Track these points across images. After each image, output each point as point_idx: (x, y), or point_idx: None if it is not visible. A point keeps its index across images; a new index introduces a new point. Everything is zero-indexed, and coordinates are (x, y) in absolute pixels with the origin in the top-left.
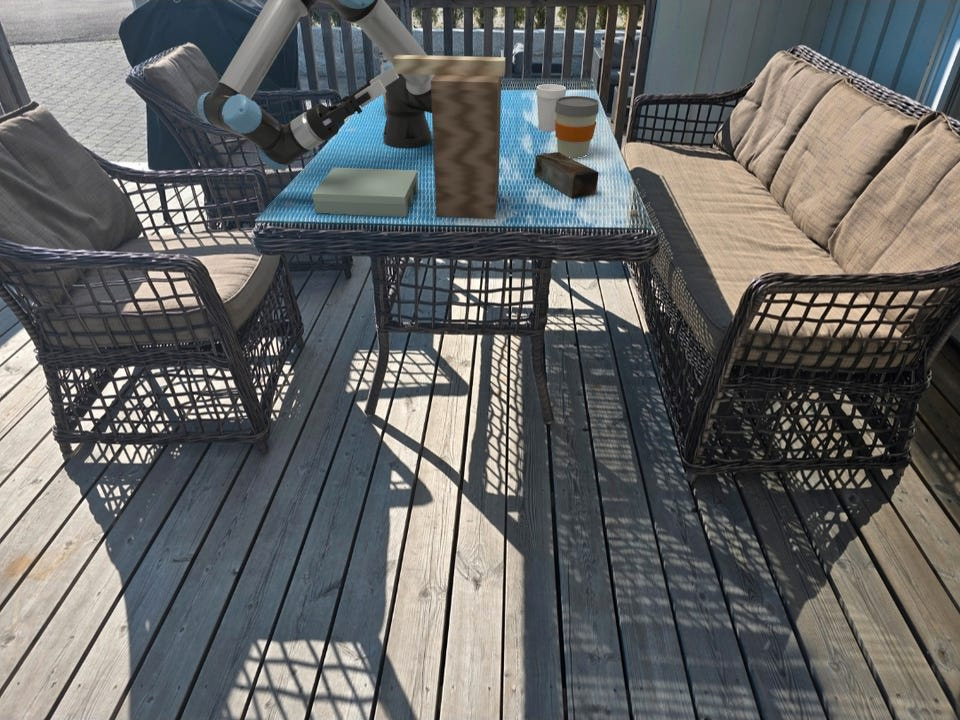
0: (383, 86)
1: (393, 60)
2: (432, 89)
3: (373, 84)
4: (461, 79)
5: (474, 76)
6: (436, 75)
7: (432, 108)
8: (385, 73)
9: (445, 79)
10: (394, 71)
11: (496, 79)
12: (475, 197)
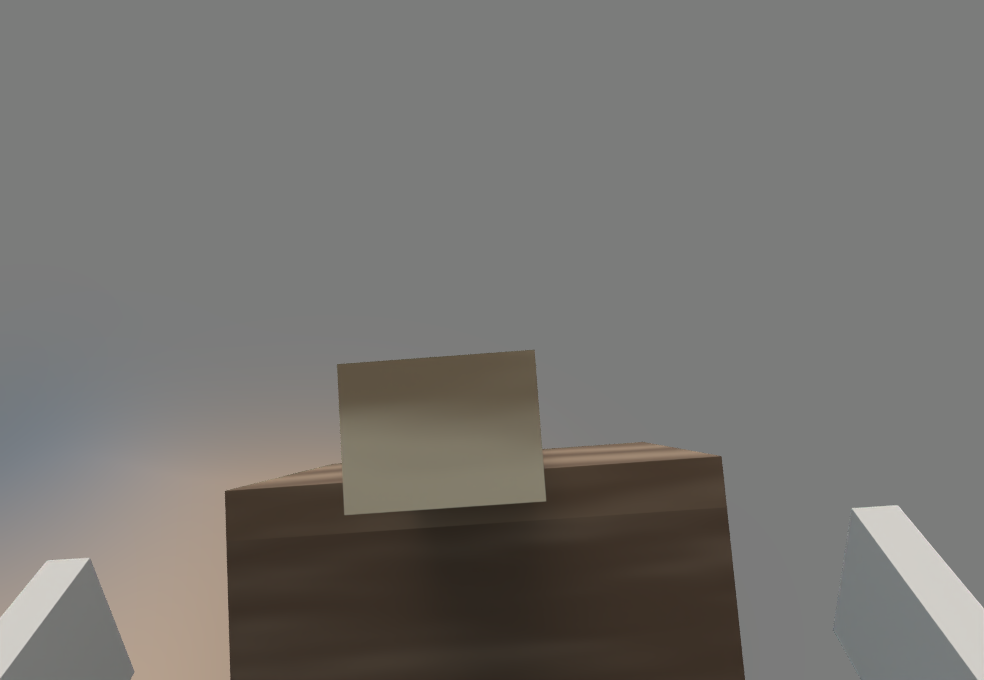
0: (846, 579)
1: (533, 370)
2: (724, 508)
3: (947, 572)
4: (629, 451)
5: (547, 454)
6: (558, 466)
7: (738, 633)
8: (28, 677)
9: (654, 455)
10: (541, 478)
11: (590, 446)
12: None
